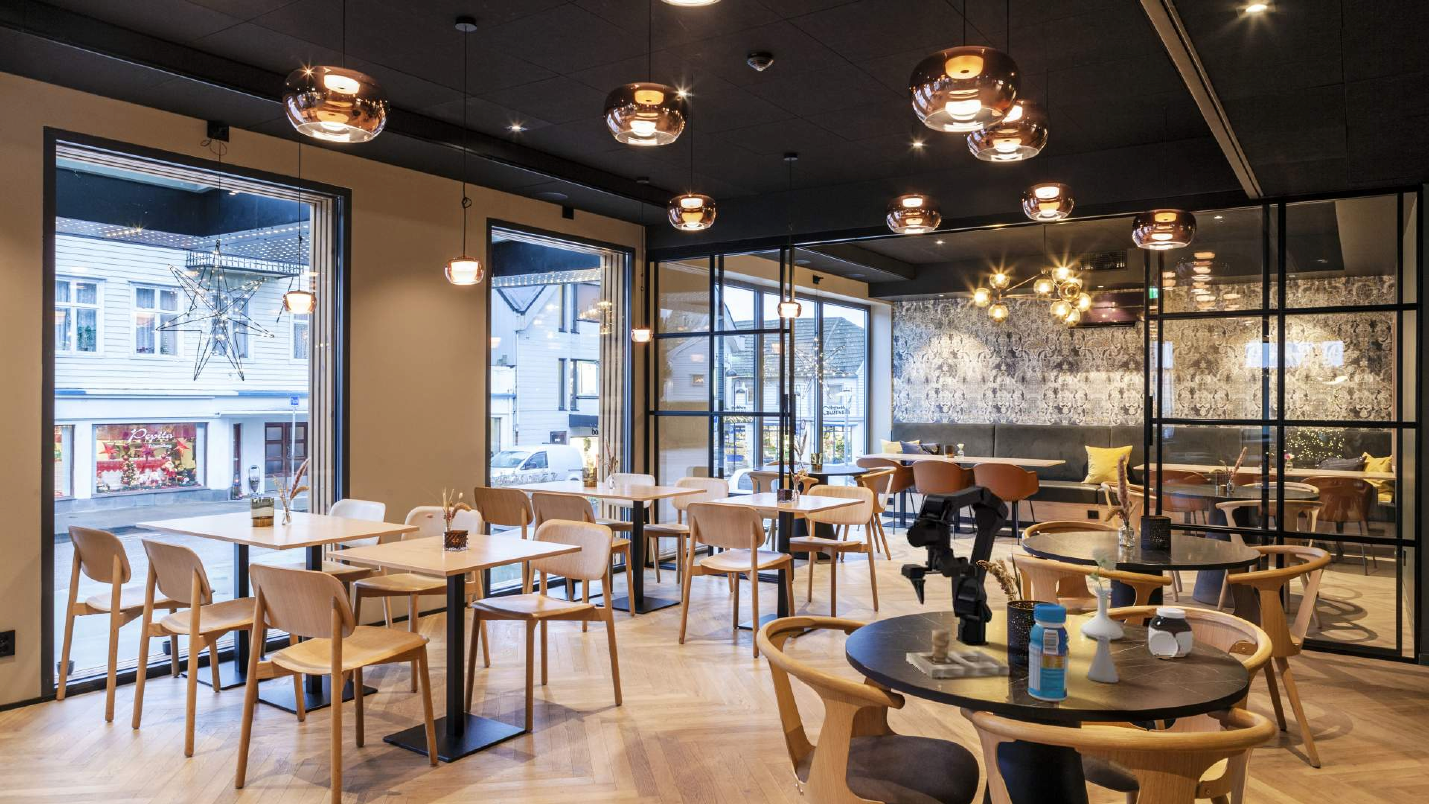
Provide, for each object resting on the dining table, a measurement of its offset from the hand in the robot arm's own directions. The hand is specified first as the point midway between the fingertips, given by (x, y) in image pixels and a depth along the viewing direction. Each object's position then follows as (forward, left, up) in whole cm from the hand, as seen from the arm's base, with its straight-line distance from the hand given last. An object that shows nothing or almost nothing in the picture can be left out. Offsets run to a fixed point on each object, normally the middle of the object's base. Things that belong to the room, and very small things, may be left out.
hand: (938, 603), depth 240 cm
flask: (-29, +27, -13) cm, 42 cm away
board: (+2, +14, -13) cm, 19 cm away
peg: (+6, +14, -13) cm, 20 cm away
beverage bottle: (-8, +37, -13) cm, 40 cm away
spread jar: (-60, +11, -13) cm, 63 cm away
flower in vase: (-54, -9, -13) cm, 57 cm away
